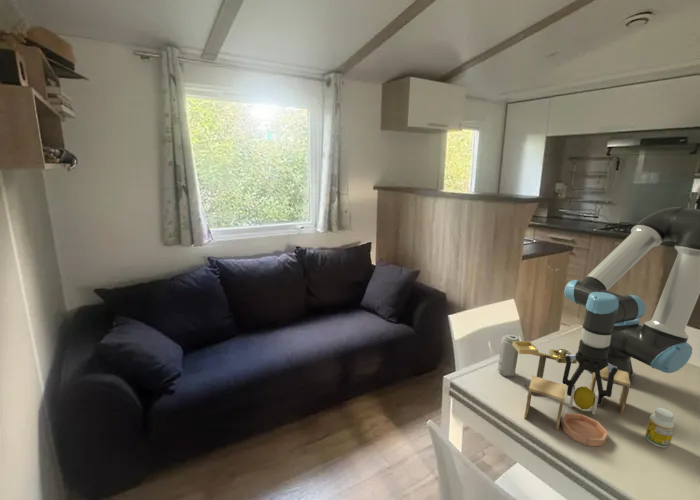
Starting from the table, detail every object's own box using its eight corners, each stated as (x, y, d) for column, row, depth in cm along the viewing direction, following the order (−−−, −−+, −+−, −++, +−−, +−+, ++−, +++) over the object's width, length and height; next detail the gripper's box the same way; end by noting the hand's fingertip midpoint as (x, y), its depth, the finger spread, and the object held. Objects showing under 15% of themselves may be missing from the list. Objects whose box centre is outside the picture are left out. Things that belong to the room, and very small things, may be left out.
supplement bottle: (669, 451, 100) (677, 421, 98) (644, 441, 103) (652, 412, 101) (668, 440, 104) (676, 411, 102) (645, 431, 107) (652, 403, 105)
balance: (560, 386, 128) (568, 343, 124) (569, 396, 122) (578, 352, 118) (506, 383, 129) (512, 340, 125) (513, 394, 123) (520, 349, 119)
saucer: (590, 420, 111) (591, 414, 111) (614, 447, 101) (616, 441, 100) (554, 418, 112) (555, 412, 111) (574, 445, 101) (576, 439, 100)
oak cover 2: (621, 401, 121) (628, 372, 119) (623, 414, 115) (630, 384, 112) (588, 391, 126) (594, 363, 123) (588, 403, 119) (595, 374, 117)
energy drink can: (498, 367, 140) (503, 331, 136) (515, 371, 137) (521, 335, 133) (496, 374, 134) (501, 337, 131) (513, 379, 132) (519, 342, 128)
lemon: (595, 415, 113) (599, 393, 111) (575, 413, 114) (579, 391, 112) (587, 404, 118) (591, 382, 116) (569, 402, 119) (572, 380, 117)
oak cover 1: (559, 415, 113) (565, 385, 110) (558, 431, 106) (564, 399, 104) (527, 404, 118) (532, 375, 115) (524, 418, 111) (529, 387, 109)
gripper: (631, 346, 108) (616, 412, 114) (560, 330, 118) (550, 392, 124) (633, 356, 102) (618, 426, 108) (558, 339, 112) (548, 404, 117)
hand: (581, 408), depth 116 cm, fingers closed on lemon, 5 cm apart
